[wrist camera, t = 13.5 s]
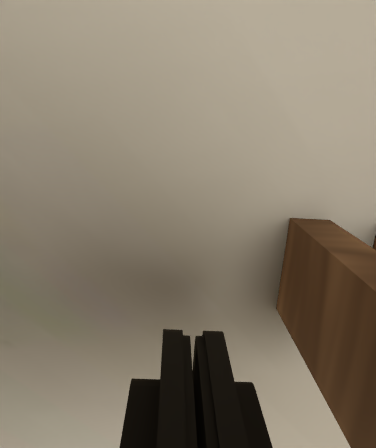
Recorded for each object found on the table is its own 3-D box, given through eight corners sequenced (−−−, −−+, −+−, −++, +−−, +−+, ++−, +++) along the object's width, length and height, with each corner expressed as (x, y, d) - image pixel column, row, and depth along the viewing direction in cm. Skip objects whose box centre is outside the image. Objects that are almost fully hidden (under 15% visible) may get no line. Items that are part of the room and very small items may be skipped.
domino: (276, 308, 19) (384, 508, 9) (289, 218, 17) (435, 342, 8) (313, 309, 19) (458, 509, 9) (329, 220, 17) (521, 345, 8)
